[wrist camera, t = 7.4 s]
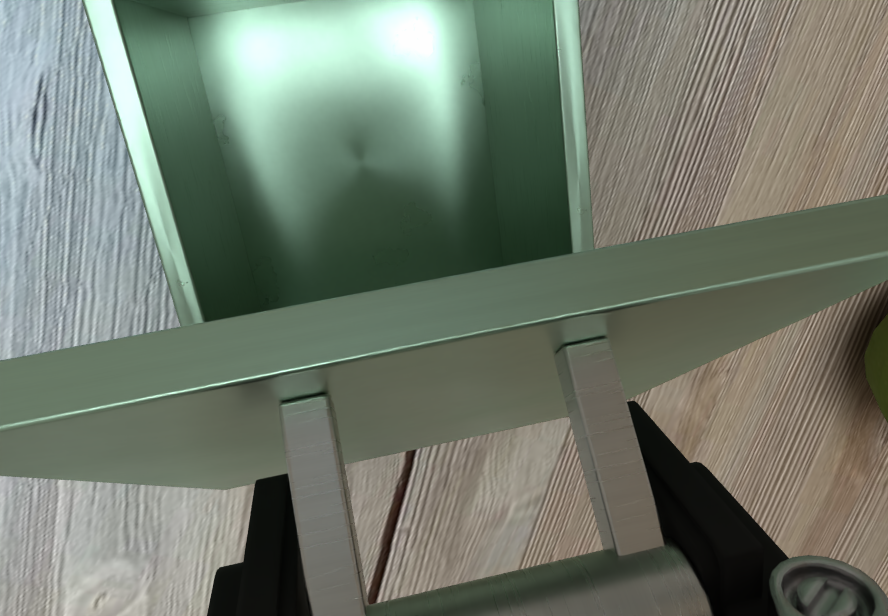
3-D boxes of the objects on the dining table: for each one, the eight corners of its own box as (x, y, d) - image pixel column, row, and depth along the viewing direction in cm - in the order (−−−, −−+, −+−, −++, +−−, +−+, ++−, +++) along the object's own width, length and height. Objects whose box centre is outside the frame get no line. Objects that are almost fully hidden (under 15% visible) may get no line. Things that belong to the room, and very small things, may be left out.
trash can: (165, 0, 29) (70, -34, 18) (482, -43, 30) (573, -100, 19) (254, 339, 34) (223, 470, 24) (517, 288, 36) (603, 390, 25)
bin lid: (-177, 391, 7) (-190, 993, 6) (959, 178, 9) (1157, 626, 7) (220, 466, 23) (241, 637, 22) (605, 385, 25) (648, 541, 23)
